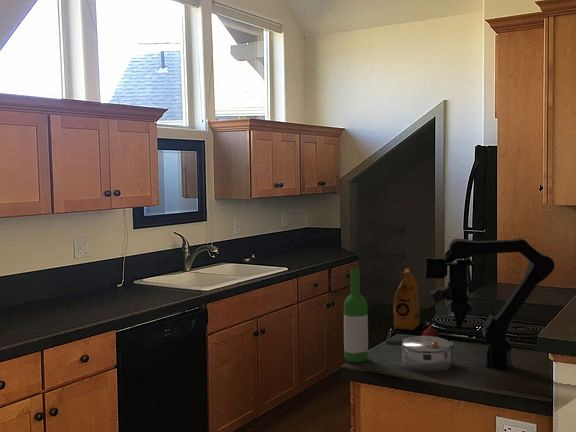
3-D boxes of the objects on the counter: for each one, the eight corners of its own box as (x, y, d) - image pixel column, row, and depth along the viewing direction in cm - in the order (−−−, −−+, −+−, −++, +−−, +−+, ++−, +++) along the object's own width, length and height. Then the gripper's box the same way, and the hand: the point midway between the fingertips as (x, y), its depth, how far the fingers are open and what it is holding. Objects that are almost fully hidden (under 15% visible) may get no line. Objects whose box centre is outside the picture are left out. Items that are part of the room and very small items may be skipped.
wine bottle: (371, 362, 211) (370, 271, 208) (347, 364, 209) (346, 272, 207) (364, 355, 218) (363, 267, 216) (341, 357, 217) (340, 268, 214)
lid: (452, 340, 213) (452, 333, 213) (456, 354, 198) (456, 346, 198) (386, 337, 217) (386, 331, 217) (385, 351, 202) (385, 344, 202)
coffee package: (389, 328, 251) (389, 272, 249) (397, 321, 262) (397, 267, 260) (415, 331, 247) (415, 274, 245) (422, 323, 258) (422, 268, 256)
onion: (426, 344, 229) (426, 322, 229) (441, 347, 226) (441, 324, 225) (418, 348, 225) (418, 326, 224) (434, 351, 221) (434, 328, 220)
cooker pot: (448, 355, 216) (448, 338, 216) (452, 375, 197) (452, 355, 197) (402, 354, 219) (402, 336, 218) (402, 373, 200) (402, 354, 199)
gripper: (430, 273, 214) (430, 320, 216) (433, 284, 196) (433, 335, 197) (465, 274, 212) (465, 321, 214) (472, 285, 194) (471, 336, 195)
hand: (458, 328), depth 205 cm, fingers closed
